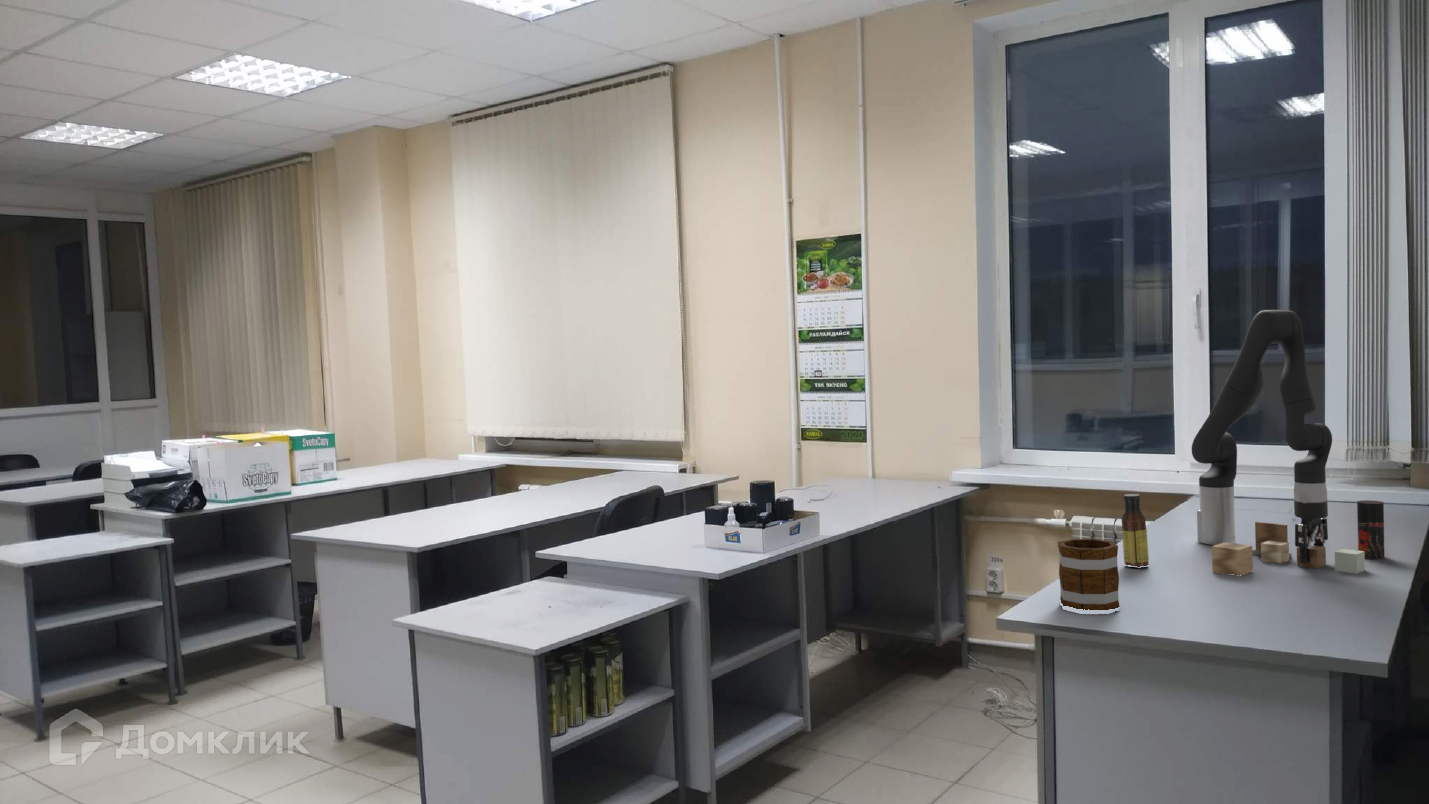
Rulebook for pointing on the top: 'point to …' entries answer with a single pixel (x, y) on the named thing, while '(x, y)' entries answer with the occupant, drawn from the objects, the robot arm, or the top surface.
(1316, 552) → the walnut cube
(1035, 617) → the top surface
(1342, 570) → the sage painted cube
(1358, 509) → the deodorant
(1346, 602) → the top surface
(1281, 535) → the walnut card
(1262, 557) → the birch cube
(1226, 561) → the oak base block
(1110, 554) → the mug
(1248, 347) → the robot arm
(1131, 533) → the sauce bottle
